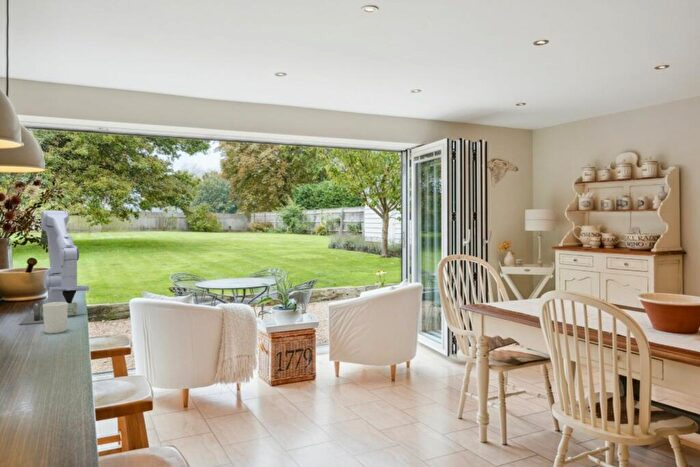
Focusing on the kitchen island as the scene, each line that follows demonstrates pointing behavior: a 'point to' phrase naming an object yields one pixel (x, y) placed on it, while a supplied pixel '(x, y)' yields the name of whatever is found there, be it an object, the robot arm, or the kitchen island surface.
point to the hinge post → (36, 312)
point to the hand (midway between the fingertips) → (69, 308)
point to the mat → (31, 320)
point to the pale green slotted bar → (70, 305)
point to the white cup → (55, 316)
